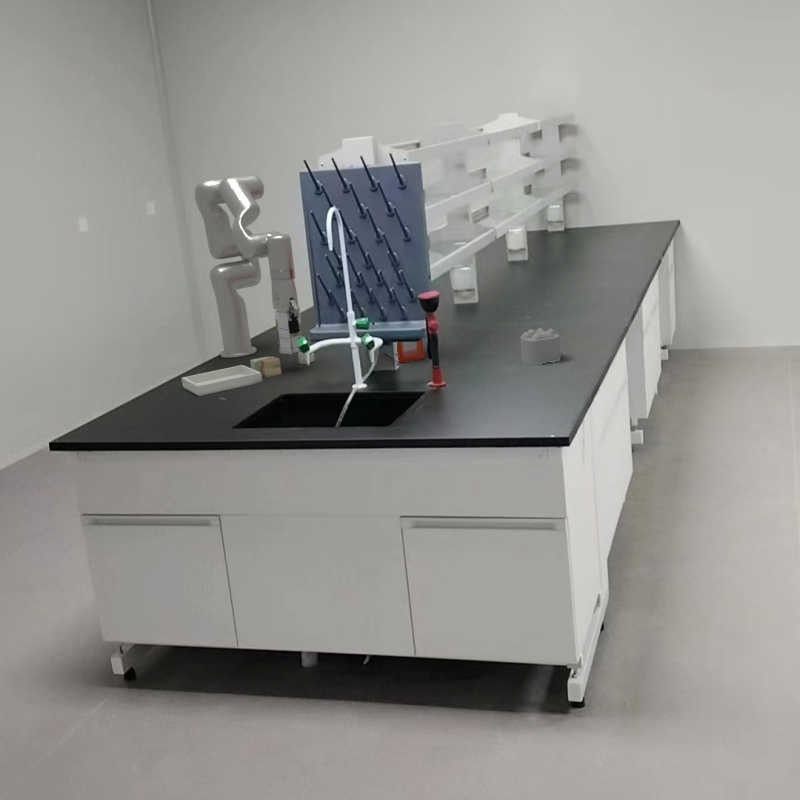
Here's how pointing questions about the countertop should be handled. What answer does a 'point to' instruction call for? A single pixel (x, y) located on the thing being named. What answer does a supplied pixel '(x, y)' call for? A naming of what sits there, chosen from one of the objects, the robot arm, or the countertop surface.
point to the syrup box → (287, 333)
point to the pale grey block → (302, 358)
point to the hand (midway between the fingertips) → (289, 330)
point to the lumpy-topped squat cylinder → (540, 346)
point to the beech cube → (270, 366)
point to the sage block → (256, 364)
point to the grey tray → (221, 380)
